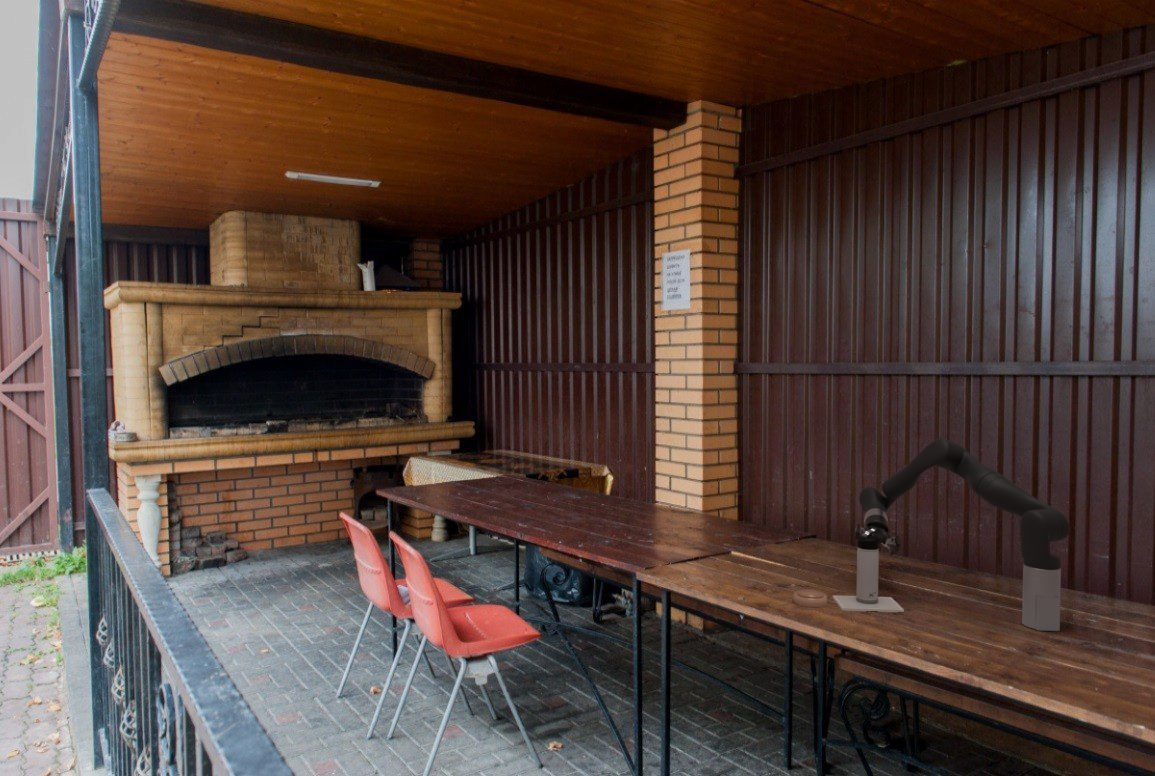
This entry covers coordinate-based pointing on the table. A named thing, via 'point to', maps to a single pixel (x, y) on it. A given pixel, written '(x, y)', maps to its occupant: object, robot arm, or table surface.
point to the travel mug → (867, 570)
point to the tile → (853, 605)
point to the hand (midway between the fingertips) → (878, 549)
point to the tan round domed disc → (810, 598)
